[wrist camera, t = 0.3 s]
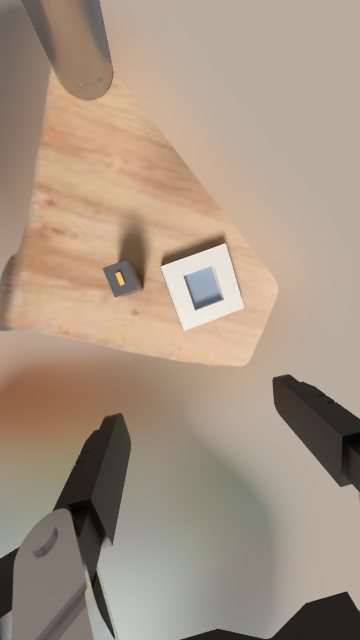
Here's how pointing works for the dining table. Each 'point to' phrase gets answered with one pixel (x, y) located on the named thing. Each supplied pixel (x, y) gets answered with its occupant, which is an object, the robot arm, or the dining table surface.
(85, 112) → the dining table surface
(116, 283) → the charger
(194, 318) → the dock
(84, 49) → the robot arm
